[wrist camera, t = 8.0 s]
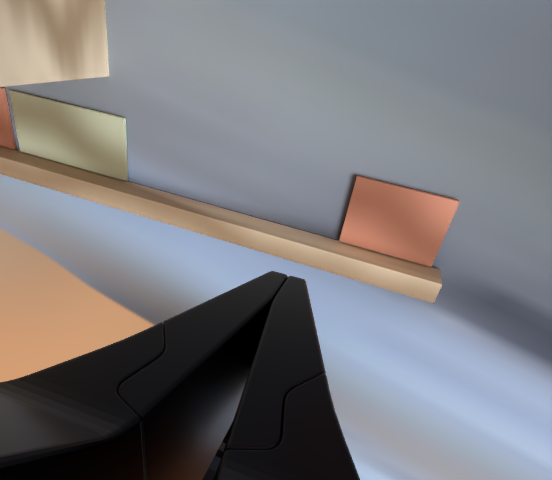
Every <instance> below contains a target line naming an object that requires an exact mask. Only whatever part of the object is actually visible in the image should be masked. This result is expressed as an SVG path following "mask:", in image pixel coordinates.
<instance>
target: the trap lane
mask: <svg viewBox="0 0 552 480" xmlns="http://www.w3.org/2000/svg"><path fill="white" fill-rule="evenodd" d="M9 94H10V99H11V105H12V110H13V115H14V121H15V126H16V132H17V137H18V143H19V148H20V151H18V150H14V149H16V143H15V138H14V133H13V127H12V122H11V117H10V111H9V106H8V101H7V95H6V90H5V88H2V87H0V174H3V175H6V176H9V177H13V178H16V179H20V180H23V181H26V182H30V183H33V184H36V185H40V186H43V187H46V188H50V189H53V190H56V191H60V192H63V193H66V194H70V195H73V196H76V197H80V198H83V199H86V200H90V201H93V202H96V203H100V204H103V205H107V206H110V207H113V208H117V209H120V210H123V211H127V212H130V213H133V214H137V215H140V216H143V217H147V218H150V219H153V220H157V221H160V222H163V223H167V224H170V225H173V226H177V227H180V228H183V229H187V230H190V231H194V232H197V233H200V234H204V235H207V236H210V237H214V238H217V239H220V240H224V241H227V242H230V243H234V244H237V245H240V246H244V247H247V248H250V249H254V250H257V251H260V252H264V253H267V254H271V255H274V256H277V257H281V258H284V259H287V260H291V261H294V262H297V263H301V264H304V265H307V266H311V267H314V268H317V269H321V270H324V271H327V272H331V273H334V274H337V275H341V276H344V277H347V278H351V279H354V280H358V281H361V282H364V283H368V284H371V285H374V286H378V287H381V288H384V289H388V290H391V291H394V292H398V293H401V294H404V295H408V296H411V297H414V298H418V299H421V300H424V301H428V302H431V303H434V302H435V299H436V297H437V295H438V293H439V291H440V289H441V286H442V279H441V273H440V269H437V268H433V267H432V264H433V262H434V260H435V257H436V255H437V253H438V250H439V248H440V246H441V243H442V241H443V239H444V237H445V234H446V232H447V230H448V227H449V225H450V223H451V220H452V218H453V216H454V213H455V211H456V209H457V206H458V204H459V200H455V199H451V198H447V197H443V196H439V195H435V194H431V193H427V192H423V191H419V190H415V189H411V188H407V187H403V186H399V185H395V184H391V183H387V182H383V181H378V180H374V179H370V178H366V177H362V176H358V175H357V178H356V181H355V185H354V189H353V192H352V196H351V199H350V203H349V207H348V210H347V214H346V218H345V221H344V225H343V229H342V232H341V236H340V239H339V241H337V240H334V239H330V238H327V237H323V236H320V235H316V234H312V233H309V232H305V231H302V230H298V229H295V228H291V227H288V226H284V225H281V224H277V223H273V222H270V221H266V220H263V219H259V218H256V217H252V216H249V215H245V214H241V213H238V212H234V211H231V210H227V209H224V208H220V207H217V206H213V205H210V204H206V203H202V202H199V201H195V200H192V199H188V198H185V197H181V196H178V195H174V194H171V193H167V192H163V191H160V190H156V189H153V188H149V187H146V186H142V185H139V184H135V183H132V182H128V181H127V180H128V163H127V139H126V118H123V117H119V116H115V115H111V114H107V113H103V112H99V111H95V110H91V109H87V108H83V107H79V106H75V105H71V104H67V103H63V102H59V101H54V100H50V99H46V98H42V97H38V96H34V95H30V94H26V93H22V92H18V91H14V90H9Z"/></svg>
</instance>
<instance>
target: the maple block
mask: <svg viewBox="0 0 552 480" xmlns="http://www.w3.org/2000/svg"><path fill="white" fill-rule="evenodd" d="M107 76H109V66H108V48H107V31H106V13H105V0H0V87H4V86H15V85H25V84H35V83H46V82H56V81H66V80H77V79H87V78H97V77H107Z"/></svg>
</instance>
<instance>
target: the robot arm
mask: <svg viewBox="0 0 552 480" xmlns="http://www.w3.org/2000/svg"><path fill="white" fill-rule="evenodd" d="M163 324H164V325H163ZM0 480H360V478H359V475H358V473H357V470H356V468H355V465H354V462H353V460H352V457H351V454H350V452H349V449H348V447H347V444H346V441H345V439H344V436H343V433H342V430H341V427H340V424H339V421H338V418H337V416H336V413H335V409H334V405H333V402H332V398H331V394H330V390H329V386H328V381H327V376H326V375H325V368H324V363H323V359H322V354H321V350H320V345H319V340H318V336H317V331H316V327H315V322H314V317H313V313H312V308H311V303H310V299H309V294H308V290H307V285H306V281H305V280H304V279H301V278H297V277H293V276H289V277H288V276H287V275H285V274H282V273H278V272H275V271H271V272H268V273H266V274H264V275H262V276H260V277H258V278H255V279H253V280H251V281H249V282H247V283H245V284H243V285H240V286H238V287H236V288H234V289H232V290H230V291H228V292H226V293H223V294H221V295H219V296H217V297H215V298H213V299H211V300H208V301H206V302H204V303H202V304H200V305H198V306H196V307H194V308H191V309H189V310H187V311H185V312H183V313H181V314H179V315H176V316H174V317H172V318H170V319H168V320H166V321H164V323H159V324H157V325H155V326H153V327H151V328H148V329H146V330H144V331H142V332H140V333H137V334H135V335H133V336H130V337H128V338H126V339H124V340H121V341H119V342H116V343H113V344H111V345H108V346H106V347H103V348H101V349H98V350H95V351H93V352H90V353H87V354H84V355H82V356H79V357H76V358H73V359H71V360H68V361H65V362H63V363H60V364H57V365H54V366H52V367H49V368H46V369H44V370H41V371H38V372H35V373H33V374H30V375H27V376H24V377H21V378H18V379H14V380H10V381H6V382H0Z"/></svg>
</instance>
